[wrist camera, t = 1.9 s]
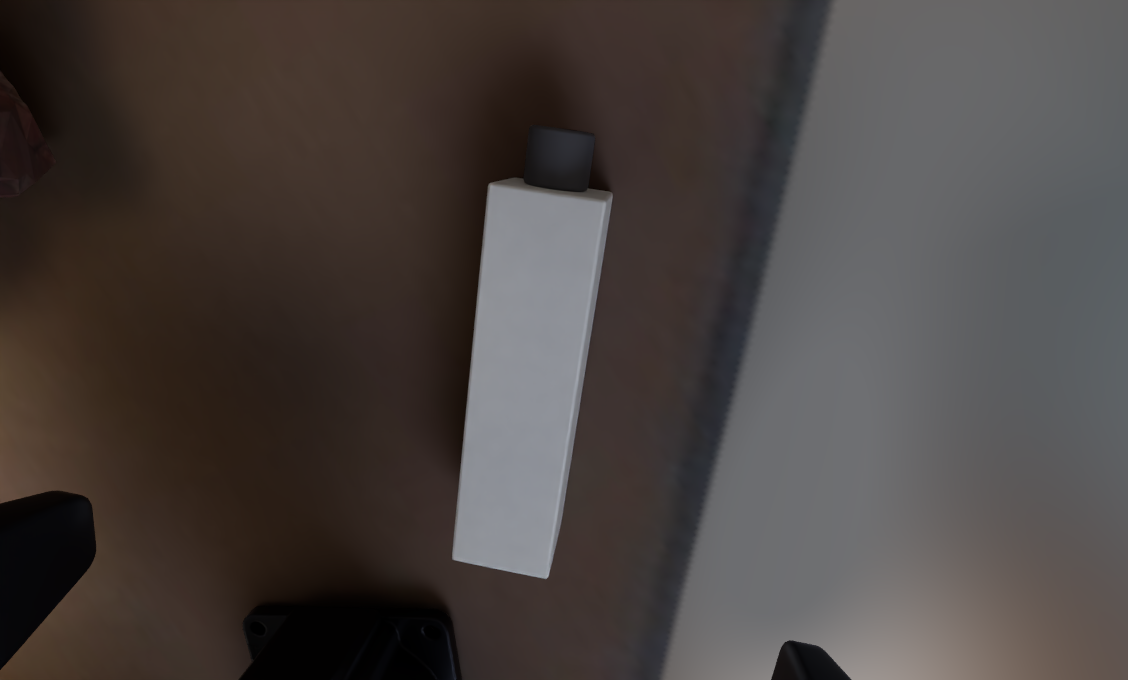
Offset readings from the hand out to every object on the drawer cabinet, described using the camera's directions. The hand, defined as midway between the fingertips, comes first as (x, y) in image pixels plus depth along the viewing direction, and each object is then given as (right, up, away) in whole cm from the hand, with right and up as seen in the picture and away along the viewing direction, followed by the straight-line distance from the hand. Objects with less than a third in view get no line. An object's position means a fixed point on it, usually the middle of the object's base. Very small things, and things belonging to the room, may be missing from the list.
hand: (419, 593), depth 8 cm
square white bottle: (+1, +3, +8) cm, 9 cm away
